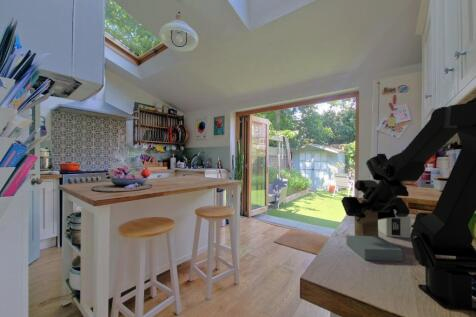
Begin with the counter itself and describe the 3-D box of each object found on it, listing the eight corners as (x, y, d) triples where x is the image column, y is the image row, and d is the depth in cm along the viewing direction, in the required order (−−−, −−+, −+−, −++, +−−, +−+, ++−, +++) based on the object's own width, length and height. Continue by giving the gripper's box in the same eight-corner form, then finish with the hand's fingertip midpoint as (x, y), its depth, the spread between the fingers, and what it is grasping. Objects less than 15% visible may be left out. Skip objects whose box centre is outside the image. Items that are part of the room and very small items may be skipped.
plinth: (402, 260, 55) (402, 249, 56) (364, 260, 56) (364, 248, 56) (378, 245, 65) (378, 236, 66) (346, 245, 66) (346, 235, 66)
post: (378, 242, 68) (377, 200, 68) (362, 242, 68) (362, 200, 68) (369, 237, 73) (368, 197, 73) (354, 237, 73) (354, 197, 73)
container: (411, 238, 72) (410, 201, 72) (386, 236, 74) (386, 200, 74) (398, 231, 80) (398, 197, 80) (376, 229, 81) (376, 196, 81)
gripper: (402, 172, 66) (380, 200, 77) (343, 172, 67) (329, 199, 78) (424, 201, 58) (395, 228, 69) (357, 201, 59) (339, 227, 70)
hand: (363, 219), depth 72 cm, fingers closed on post, 5 cm apart
